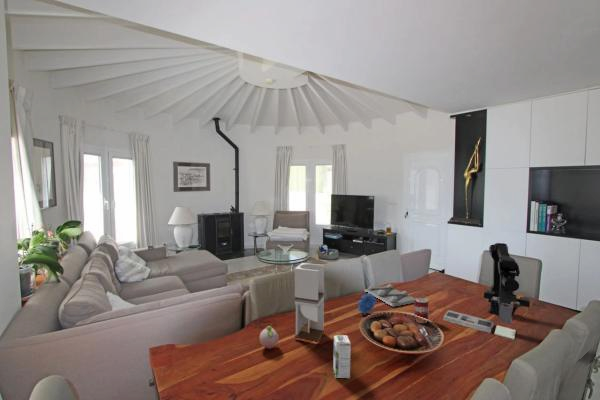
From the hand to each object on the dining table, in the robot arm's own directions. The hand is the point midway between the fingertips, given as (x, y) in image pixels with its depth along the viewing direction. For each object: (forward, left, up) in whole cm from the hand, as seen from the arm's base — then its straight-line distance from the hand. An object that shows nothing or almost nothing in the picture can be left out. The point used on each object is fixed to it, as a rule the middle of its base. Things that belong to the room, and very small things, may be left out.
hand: (505, 314), depth 145 cm
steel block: (0, 0, -3) cm, 3 cm away
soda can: (+15, -36, -10) cm, 41 cm away
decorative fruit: (+87, -81, -9) cm, 120 cm away
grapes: (+25, -64, -9) cm, 70 cm away
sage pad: (0, 0, -9) cm, 9 cm away
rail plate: (0, -16, -9) cm, 19 cm away
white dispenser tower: (+67, -73, -9) cm, 100 cm away
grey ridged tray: (-8, -63, -10) cm, 65 cm away
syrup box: (+81, -46, -10) cm, 94 cm away
